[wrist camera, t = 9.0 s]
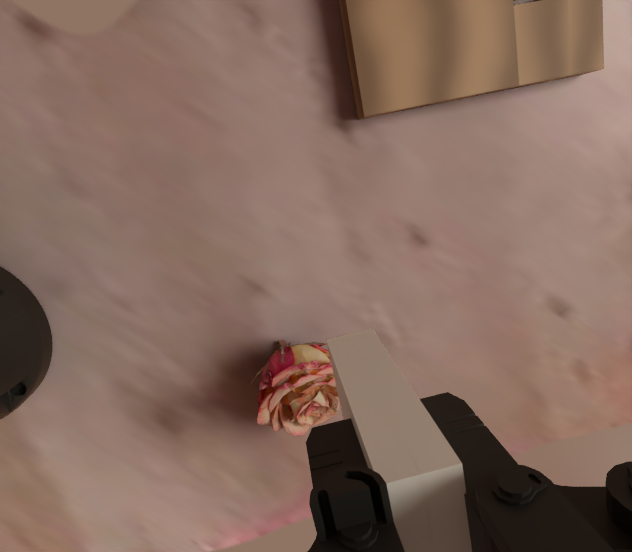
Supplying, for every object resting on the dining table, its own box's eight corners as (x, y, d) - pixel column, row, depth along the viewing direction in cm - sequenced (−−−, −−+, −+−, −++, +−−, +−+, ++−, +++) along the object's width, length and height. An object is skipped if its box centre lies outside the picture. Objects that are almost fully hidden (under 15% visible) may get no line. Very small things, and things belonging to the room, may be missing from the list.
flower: (215, 364, 40) (242, 446, 35) (283, 296, 37) (322, 375, 32) (288, 378, 47) (319, 448, 42) (349, 322, 44) (390, 390, 39)
